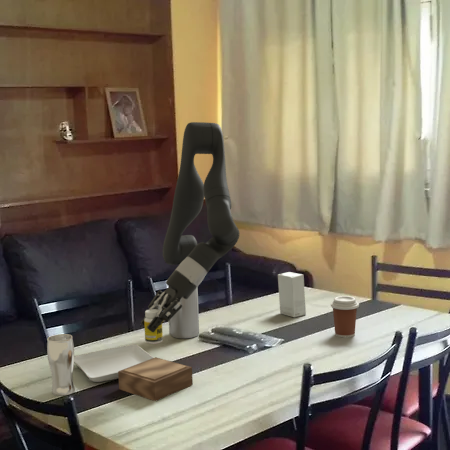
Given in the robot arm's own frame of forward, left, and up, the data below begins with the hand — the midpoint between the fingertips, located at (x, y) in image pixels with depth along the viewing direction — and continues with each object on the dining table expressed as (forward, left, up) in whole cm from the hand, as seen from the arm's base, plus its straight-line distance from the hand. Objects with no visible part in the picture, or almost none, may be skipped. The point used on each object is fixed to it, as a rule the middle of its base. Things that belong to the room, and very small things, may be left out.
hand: (146, 327), depth 195 cm
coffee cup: (+18, +71, -17) cm, 75 cm away
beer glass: (-17, -15, -17) cm, 29 cm away
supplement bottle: (+1, +2, -4) cm, 5 cm away
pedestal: (+1, +2, -17) cm, 17 cm away
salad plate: (-19, +5, -18) cm, 26 cm away
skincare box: (-10, +81, -17) cm, 83 cm away
